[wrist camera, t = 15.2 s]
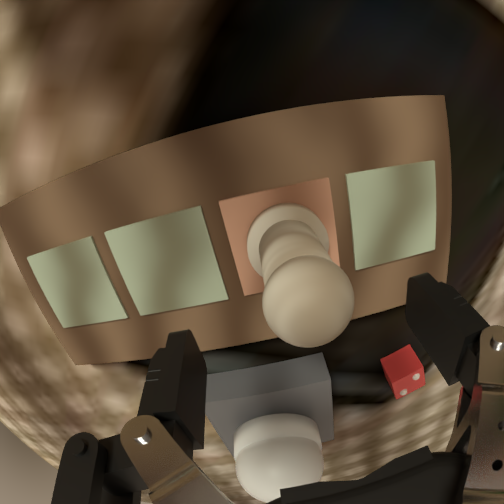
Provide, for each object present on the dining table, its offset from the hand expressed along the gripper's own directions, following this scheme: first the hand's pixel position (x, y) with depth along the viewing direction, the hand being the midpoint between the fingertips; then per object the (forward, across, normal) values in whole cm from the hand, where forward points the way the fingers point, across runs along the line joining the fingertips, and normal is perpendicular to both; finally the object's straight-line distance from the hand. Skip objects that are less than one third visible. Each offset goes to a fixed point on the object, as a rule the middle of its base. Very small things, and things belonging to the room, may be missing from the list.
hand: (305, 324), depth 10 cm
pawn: (+7, 0, 0) cm, 7 cm away
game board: (+9, +3, 0) cm, 10 cm away
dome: (+5, +3, +16) cm, 17 cm away
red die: (+9, -9, +15) cm, 20 cm away
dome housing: (+9, +3, +16) cm, 19 cm away
